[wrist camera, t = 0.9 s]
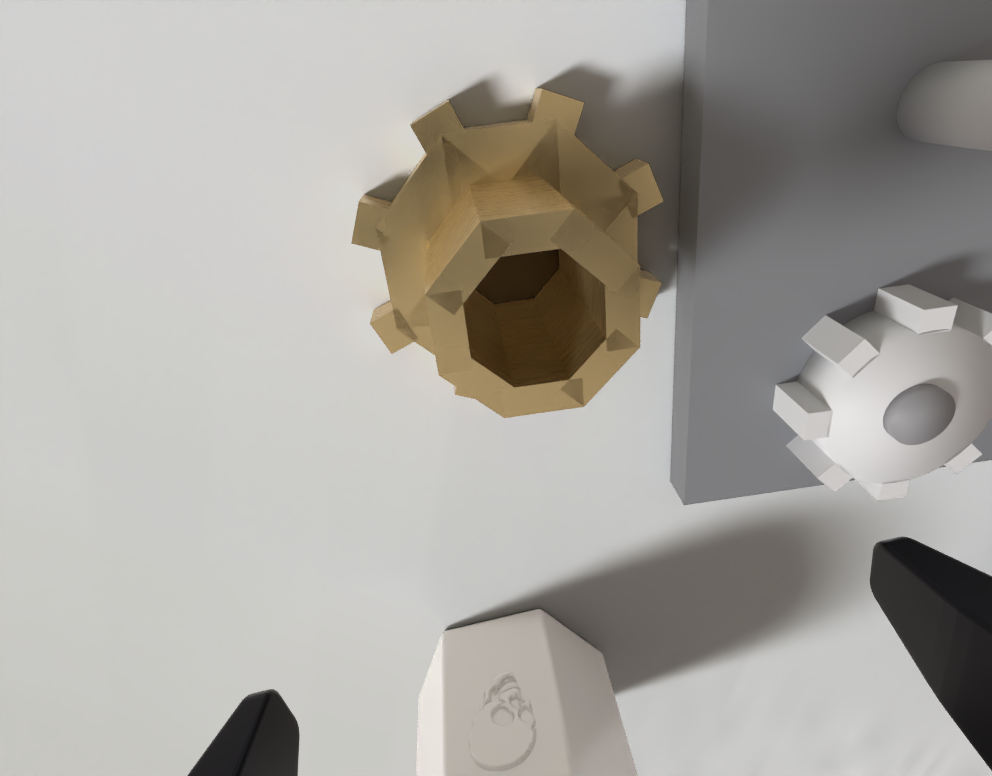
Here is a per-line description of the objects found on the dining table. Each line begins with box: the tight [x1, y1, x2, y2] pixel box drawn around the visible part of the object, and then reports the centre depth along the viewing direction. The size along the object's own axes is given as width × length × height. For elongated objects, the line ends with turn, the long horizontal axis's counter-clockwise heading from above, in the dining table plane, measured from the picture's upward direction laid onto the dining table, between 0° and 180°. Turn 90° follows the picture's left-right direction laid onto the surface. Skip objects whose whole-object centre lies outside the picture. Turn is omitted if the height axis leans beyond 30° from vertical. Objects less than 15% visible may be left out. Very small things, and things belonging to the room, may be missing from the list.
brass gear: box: [352, 88, 663, 418], centre depth 16 cm, size 9×9×6 cm
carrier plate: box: [670, 0, 992, 505], centre depth 17 cm, size 13×18×6 cm
